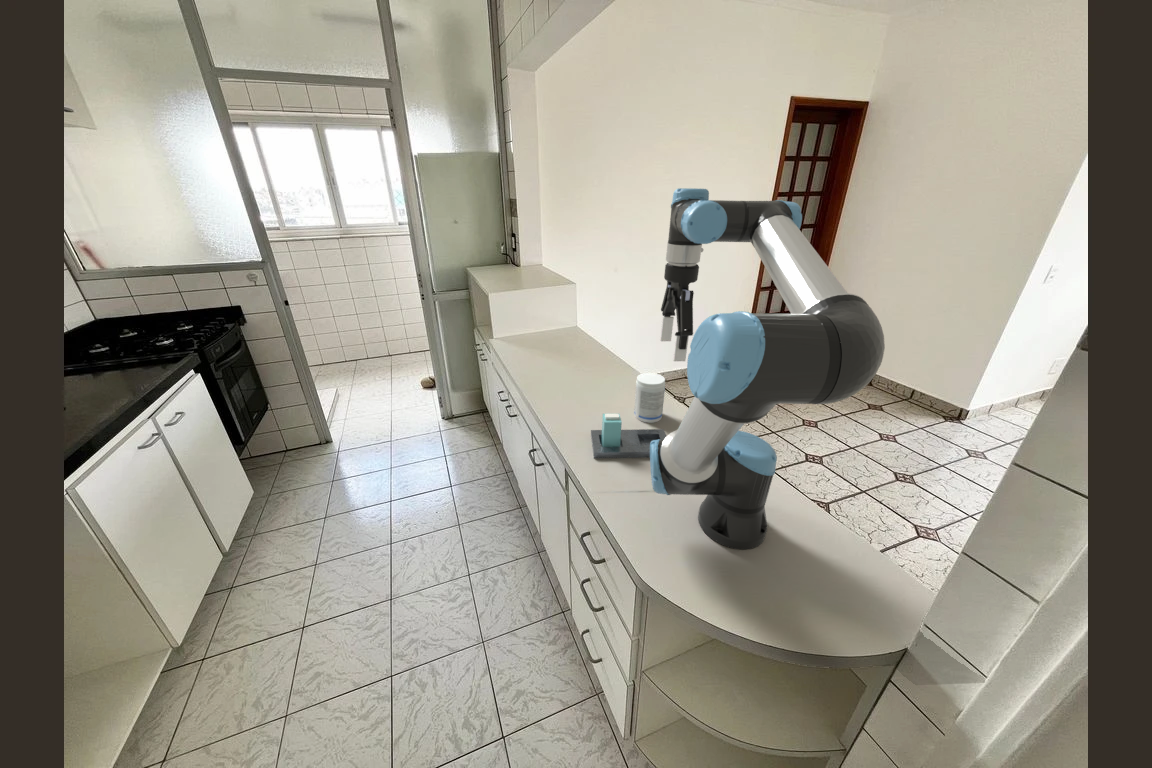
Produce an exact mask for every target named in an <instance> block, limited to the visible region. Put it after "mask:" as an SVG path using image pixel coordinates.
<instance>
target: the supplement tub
mask: <svg viewBox="0 0 1152 768" xmlns="http://www.w3.org/2000/svg"><path fill="white" fill-rule="evenodd" d="M665 389H666V378H665V377H664V376H663V375H661V374H659V373H654V372H644V373H641V374H638V375H637V376H636V381H635V392H634V393H635V395H634V408H633V410H634V411H633V415H634V417H635V418H636V420H638V421H640V422H643V423H649V424H650V423H652V424H653V423H656V422H659V421H661V419H662V418H663V412H664V402H665V392H666V390H665Z"/></svg>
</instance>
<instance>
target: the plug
mask: <svg viewBox="0 0 1152 768" xmlns="http://www.w3.org/2000/svg"><path fill="white" fill-rule="evenodd" d="M601 419H602V420H601V430H602V439H601V442H602V447H620V439H621V430H622V418H621V414H620V412H619V413H602V417H601Z"/></svg>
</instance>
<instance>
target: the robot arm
mask: <svg viewBox="0 0 1152 768" xmlns="http://www.w3.org/2000/svg"><path fill="white" fill-rule="evenodd" d="M709 196H710V192H709V189H708V188H691V187H689V188H680V187H679V188H676V189H675V190H674V191H673V194H672V199H671V200H672V201H671V204H670V221H669V229H668V240H667V245H666V254H665V255H666V256H665V261H666V262H667V263H665V266H664V280H665V281H666V289H665V292H664V295H663V300H662V304H661V307H660V311H661V312H662V314H661V315H662V321H661V330H660V339H659V340H660V342H672V336H673V335H672V334H673V329H674V328H673V326H674V320H675V316H676V323H677V325H676V326H677V331H676V332H675V333H674V336H675V342H674V351H673V358H672V361H673V362H686V359H687V362H686V363H687V366H686V373H687V376H686V377H687V381H688V382H687V383H688V387H689V390H690V392H691V393H692V395H693V396H694V398H693V399H692V401H691V403H690V405H689V407H688V409H687V411H686V413H685V415H684V416H683V419H682V420H681V422H680V424H679V426H678V428H677V429H676V430H673V431H671V432H670V433H668V434H666V436H667V437H666V438H665V439H664V440H661V439H658V440H653V441H651V443H650V458H649V465H650V478H651V479H650V480H651V486H652V490H653V491H654V493H656V494H661V495H667V496H671V495H682V496H683V495H686V496H687V495H690V496H692V495H693V496H694V495H695V496H701V495H702V496H703V495H704V496H706V497H705V498H704V500H703V501H702V502H701V504H700V506H699V510H698V515H697V520H698V525H699V527H700V528H701V530H702V531H703V532H704V533H705V534H706V536H707V537H709V538H710V539H711V540H713V542H716V543H718V544H719V545H722V546H724V547H727V548H731V549H736V550H750V549H753V548H754V549H755V548H757V547H759V546H760V545H761V544H762V543H764V541H765V539H766V535H767V531H768V521H767V514H766V513H767V512H766V507H765V505H766V503H767V499H768V495H769V492H770V489H771V484H772V482H773V481H772V480H773V477H774V475H775V474H776V467H777V460H778V456H777V452H776V451H775V449H774V447H772V445H771V444H770V443H769V442H767V441H766V440H764V439H763V438H761V437H759V436H758V435H755V434H753V433H750V432H747V431H742V430H740V429H741V428H742V427H743V426H744V425H745V424H751V423H754V422H756V421H760V420H761V419H763V418H764V417H766V416H767V414H769V413H770V411H771V410H773V408H774V407H775V406H776V405H779V404H784V405H785V404H786V405H789V404H790V405H791V404H794V405H795V404H796V405H808V404H809V405H810V404H811V405H828V404H834V403H838V402H842V401H843V400H846V399H848V398H851V397H852V396H854V395H856V394H858V393H859V392H861V391H862V390H863V389H864V388H865V387H866V386H867V385H868V384H870V382H871V381H872V380H873V379H874V377H875V376H876V374H878V371H879V369H880V367H881V365H882V362H883V358H884V354H885V335H884V331H883V327H882V324H881V323H880V320H879V318H878V316H877V315H876V313H875V312H874V310H873V309H872V308H871V307H870V306H869V304H868V303H867V301H866V300H865V299H864V298H863V297H861V296H859V295H858V294H856V293H855V294H853V293H849V292H848V291H847V289H845V287H844V286H843V285H842V283H841V282H840V281H839V279H838V278H837V277H836V275H835V274H834V273H833V272H832V270H831V269H830V268H829V266H828V265H827V263H826V262H825V261H824V260H823V258H822V257H821V256H820V254H819V253H818V252H817V250H816V249H815V248H814V246H813V245H812V244H811V243H810V241H809V239H807V237H806V236H805V235H804V233H803V232H802V231H801V230H800V229H801V226H802V221H803V213H802V208H801V206H800V205H799V203H797V202H794V201H784V200H782V199H779V200H778V199H776V200H718V199H717V200H716V199H715V200H713V199H710V197H709ZM717 242H718V243H751V244H752V247H753V248H754V250H755V251H756V254H757V255H758V257H759V259H760V260H761V262H762V264H763V265H764V267H765V270H766V271H767V272H768V274H769V276H770V278H771V281H773V284H774V286H775V287H776V290H777V291H778V293H779V295H780V296H781V298H782V300H783V302H784V303H785V305H786V308H787V309H788V311H789V312H790V313H761V312H760V313H759V312H757V313H756V312H755V313H754V312H753V313H751V312H749V311H742V310H741V311H740V310H739V311H734V312H729V313H727V312H726V313H725V312H723V313H720V312H719V313H716V314H715V313H714V314H713V315H710V316H708V317H707V318H705V319H704V320H703V321H702V322H701V323H700V324H699V326H698V327H697V329H696V331H695V332H694V308H693V307H694V306H693V305H694V304H693V301H694V294H695V293H694V290H690V289H689V287H690V284H691V283H696V282H697V281H698V277H699V272H700V271H699V269H700V267H699V263H700V262H701V255H702V254H701V253H703V252H704V248H703V245H708V244H712V243H717ZM691 336H693V337H692V340H691V343H690V346H689V348H690V352H689V353H688V356H687V351H688V345H689V344H688V343H689V337H691Z"/></svg>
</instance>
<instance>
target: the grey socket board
mask: <svg viewBox="0 0 1152 768" xmlns="http://www.w3.org/2000/svg"><path fill="white" fill-rule="evenodd" d="M666 437H667V434H666V431H665V429H664V428H659V429H658V428H656V429H653V428H651V429H648V428H647V429H646V428H645V429H621V439H620V447H602V442H601V439H602V429H591V430H590V438H591V439H590V440H591V441H590V442H591V447H592V454H593V459H639V458H640V459H647V458H649V459H650V443H651V441H653V440H658V439H661V440H664V439H665V438H666Z"/></svg>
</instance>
